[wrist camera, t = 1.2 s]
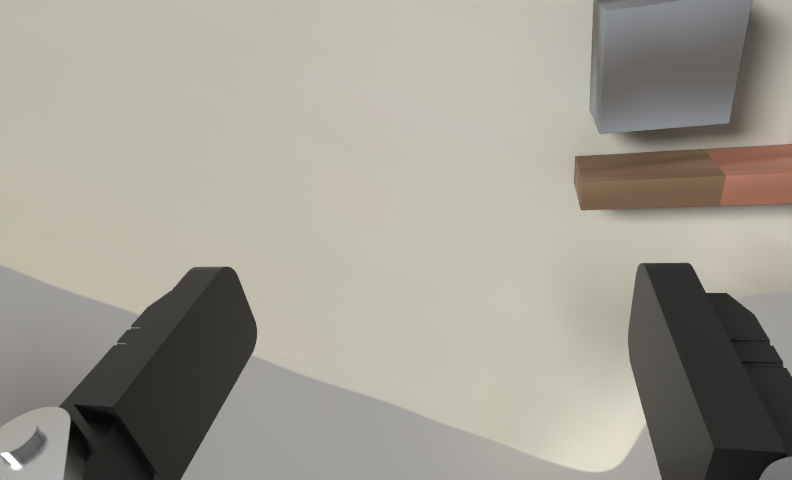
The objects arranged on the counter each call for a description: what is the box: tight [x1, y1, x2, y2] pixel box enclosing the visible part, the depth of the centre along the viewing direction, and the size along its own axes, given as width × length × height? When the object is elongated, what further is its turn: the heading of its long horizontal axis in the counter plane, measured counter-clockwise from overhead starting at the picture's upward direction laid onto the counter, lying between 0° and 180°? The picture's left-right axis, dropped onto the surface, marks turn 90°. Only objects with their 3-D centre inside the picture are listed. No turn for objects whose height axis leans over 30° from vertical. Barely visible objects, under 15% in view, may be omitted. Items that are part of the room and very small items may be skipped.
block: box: [589, 0, 752, 134], centre depth 22 cm, size 5×5×4 cm
